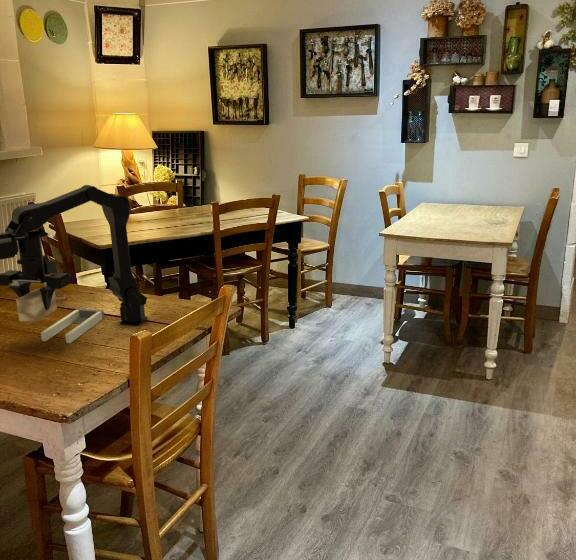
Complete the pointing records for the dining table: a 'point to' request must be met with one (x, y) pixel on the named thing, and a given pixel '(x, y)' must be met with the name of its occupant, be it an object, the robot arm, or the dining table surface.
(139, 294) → the robot arm
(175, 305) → the dining table surface
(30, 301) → the birch block
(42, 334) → the channel
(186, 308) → the dining table surface
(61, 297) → the gingerbread man figurine
